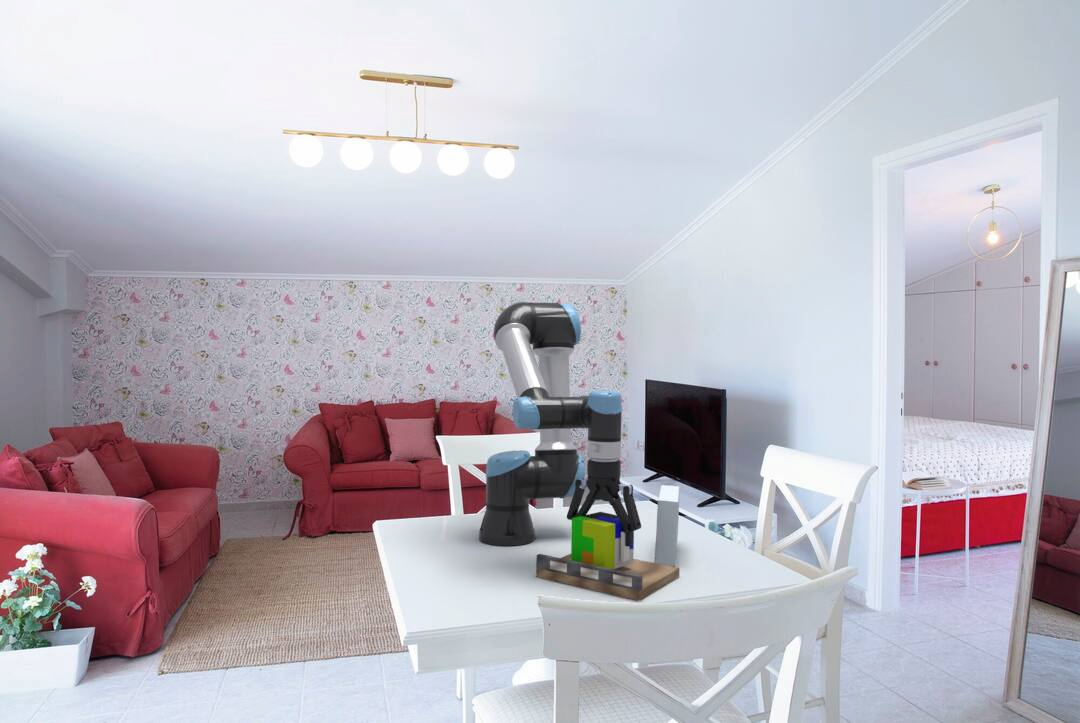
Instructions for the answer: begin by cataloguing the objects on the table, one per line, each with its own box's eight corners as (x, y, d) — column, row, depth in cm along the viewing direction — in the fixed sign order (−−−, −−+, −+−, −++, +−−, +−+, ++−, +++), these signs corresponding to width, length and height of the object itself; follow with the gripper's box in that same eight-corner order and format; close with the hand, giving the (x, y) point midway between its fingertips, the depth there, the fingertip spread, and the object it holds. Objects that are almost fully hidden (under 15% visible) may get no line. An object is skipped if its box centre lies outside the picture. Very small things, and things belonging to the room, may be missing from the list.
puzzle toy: (633, 562, 167) (634, 519, 167) (604, 572, 160) (605, 526, 160) (599, 553, 174) (600, 511, 174) (571, 562, 167) (571, 518, 167)
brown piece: (535, 577, 167) (536, 555, 166) (582, 556, 183) (582, 536, 183) (639, 601, 152) (639, 577, 152) (679, 576, 168) (679, 554, 168)
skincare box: (677, 567, 176) (678, 501, 175) (654, 566, 177) (655, 500, 176) (678, 544, 196) (679, 485, 196) (657, 543, 197) (659, 484, 197)
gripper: (552, 456, 170) (550, 550, 171) (642, 466, 157) (641, 569, 157) (569, 452, 176) (568, 543, 177) (658, 462, 163) (656, 560, 164)
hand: (602, 555), depth 167 cm, fingers closed on puzzle toy, 11 cm apart
